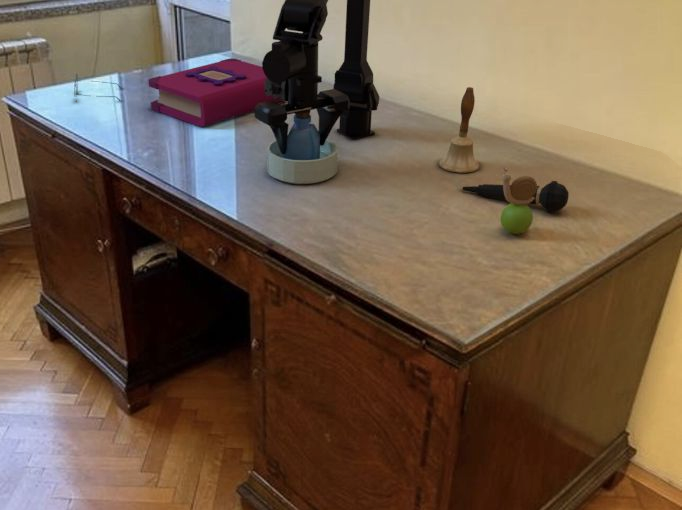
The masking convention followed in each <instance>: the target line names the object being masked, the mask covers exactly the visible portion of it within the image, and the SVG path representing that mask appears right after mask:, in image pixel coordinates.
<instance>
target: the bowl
mask: <svg viewBox="0 0 682 510" xmlns="http://www.w3.org/2000/svg"><path fill="white" fill-rule="evenodd" d="M338 151H339V147H338V146H337V145H336V143H335V142H333V141H331V140H329V139H328V138H327V139H326V141H325V143H324V145H323V146H321V145H320V159H316V160H291V159H285V158H284V154H282V153H281V152H280V149H279V146H278V144H277V141H276V139H275V140H272V141H271V142H270V143H268V144H267V145H266V171H267V173H268V175H269V176H271V177H272V178H274V179H275V180H278V181H281V182H283V183H287V184H293V185H310V184H317V183H321V182H324V181H327V180H329V179H331V178H333V177H334V176H335V175H336V174H337V173H338V156H339V155H338Z"/></svg>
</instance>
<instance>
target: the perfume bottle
mask: <svg viewBox="0 0 682 510" xmlns="http://www.w3.org/2000/svg"><path fill="white" fill-rule="evenodd" d="M284 158H285V159H291V160H316V159H320V133H319V129H318V128H317V127H316V125H315V124H314V123H312V115H311V110H305V111H301V112H297V113H294V114H293V124H292V126H291V128H290V130H289V131H288V136H287V148H286V153H285V154H284Z"/></svg>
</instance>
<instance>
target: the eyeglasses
mask: <svg viewBox="0 0 682 510" xmlns="http://www.w3.org/2000/svg"><path fill="white" fill-rule="evenodd" d="M75 77H76V80H74V84H73V85H74V86H73V87H74V88H73V89H74V93H73V94H74V95H75V96H77V95H79V96H82V94H79V93H78V91H79V82H80V80H79V79H78V77H79V76H78V73H77V72H76V74H75ZM92 82H94V83H99V81H97V80H92ZM102 83H105V84H109V82H106V81H102ZM110 84H112V85H117V87H118V88H119V89H122V87H121V86H120V84H119V83H115V82H110ZM83 96H85V97H90V95H87V94H83ZM99 97H100V98H101V97H102V98H116V99H117V100H118V101H119V102H121V101H122V100H121V99H120V98H118V96H116V95H115V96H114V95H113V96H112V95H97V98H99Z"/></svg>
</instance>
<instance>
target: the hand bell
mask: <svg viewBox="0 0 682 510" xmlns="http://www.w3.org/2000/svg"><path fill="white" fill-rule="evenodd" d="M475 98H476V97H475V92H474V87H471V86H468V87H466V90H465V92H464V94H463V96H462V98H461V102H460V116H461V122H460V126H459V130H458V131H459V132H458V135H457V136H455V137H453V138H451V140H450V144H449V147H448V150H447V152H446V154H445V155H444V157H442V158H441V159H440V160H439V162H438V166H439V167H440V168H442V170H445V171H447V172H453V173H458V174H459V173H460V174H466V173H467V174H468V173H473V172H476V171H478V170H479V168H480V164H479V162H478V160H477V159H476V158H475V155H474V142H473V139H471V138H469V137H468V132H469V126H470V125H469V124H470V119H471V117H472V114H473V112H474V109H475V101H476V100H475Z"/></svg>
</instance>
